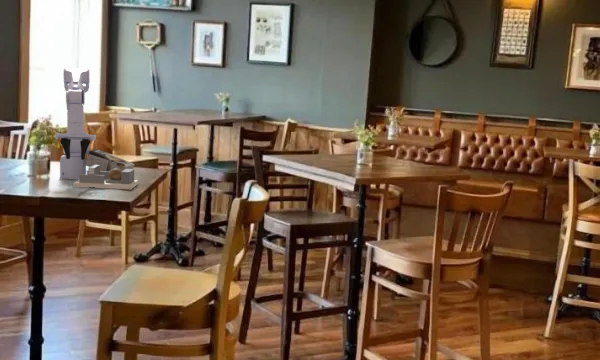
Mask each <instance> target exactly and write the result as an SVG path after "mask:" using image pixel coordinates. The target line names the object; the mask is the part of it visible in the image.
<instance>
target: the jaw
mask: <svg viewBox="0 0 600 360" xmlns="http://www.w3.org/2000/svg"><path fill="white" fill-rule="evenodd" d="M88 171H89V175H100V165H93V166H91V167H88Z"/></svg>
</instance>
